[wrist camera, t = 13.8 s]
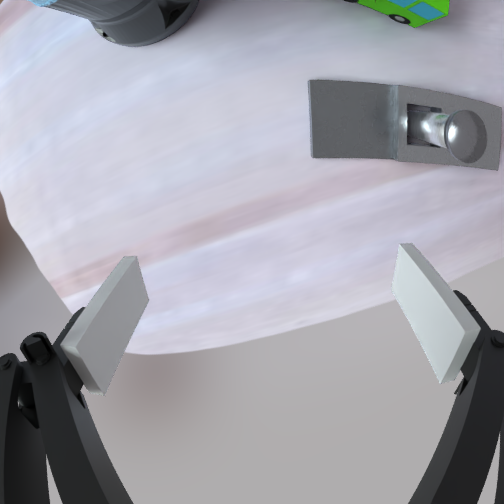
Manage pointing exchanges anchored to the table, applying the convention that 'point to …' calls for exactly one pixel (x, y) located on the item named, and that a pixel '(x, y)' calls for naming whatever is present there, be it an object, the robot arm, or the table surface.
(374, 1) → the toy car
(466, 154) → the pin
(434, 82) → the table surface
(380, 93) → the plate with square hole
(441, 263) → the table surface
